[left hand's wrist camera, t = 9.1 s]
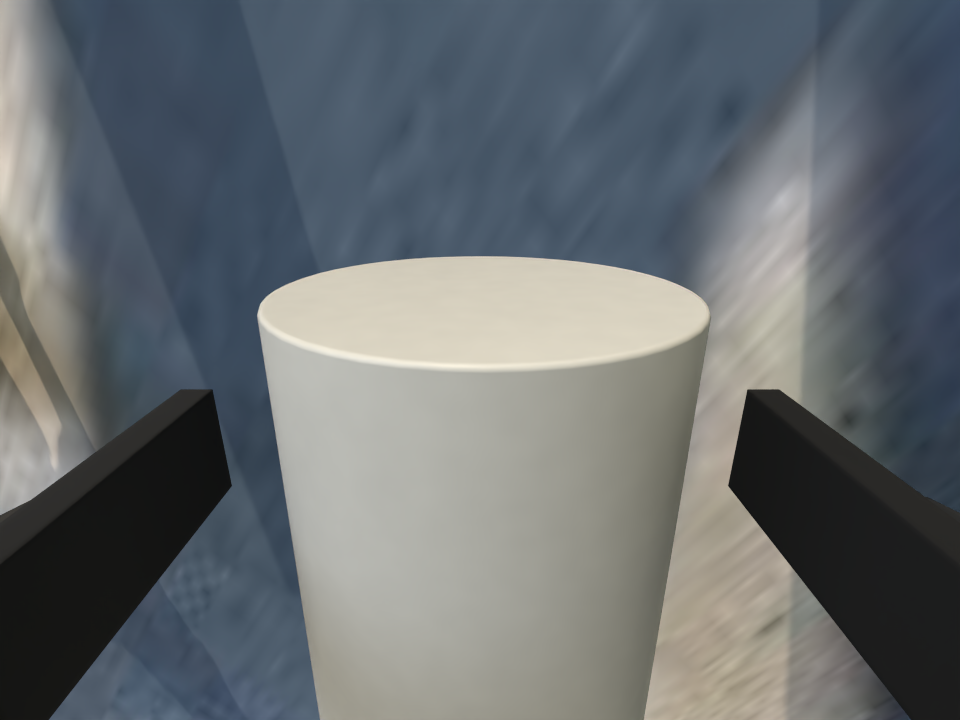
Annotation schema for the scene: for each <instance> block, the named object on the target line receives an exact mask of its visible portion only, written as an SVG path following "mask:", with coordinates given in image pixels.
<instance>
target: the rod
mask: <svg viewBox="0 0 960 720" xmlns="http://www.w3.org/2000/svg"><path fill="white" fill-rule="evenodd" d="M257 317H258V324H259V330H260V337H261V343H262V350H263V356H264V362H265V369H266V375H267V382H268V388H269V394H270V401H271V407H272V414H273V420H274V426H275V433H276V439H277V446H278V452H279V459H280V465H281V471H282V478H283V484H284V491H285V497H286V503H287V510H288V516H289V523H290V529H291V535H292V542H293V548H294V555H295V561H296V567H297V574H298V580H299V587H300V593H301V600H302V606H303V612H304V619H305V625H306V632H307V638H308V644H309V651H310V657H311V664H312V670H313V676H314V683H315V689H316V696H317V702H318V709H319V715H320V720H644V714H645V708H646V702H647V696H648V690H649V684H650V678H651V672H652V666H653V660H654V654H655V648H656V642H657V636H658V630H659V624H660V618H661V612H662V606H663V600H664V594H665V589H666V583H667V577H668V571H669V565H670V559H671V553H672V547H673V541H674V535H675V529H676V523H677V517H678V511H679V505H680V499H681V493H682V487H683V481H684V475H685V469H686V463H687V457H688V451H689V445H690V439H691V433H692V427H693V421H694V415H695V409H696V403H697V397H698V391H699V385H700V380H701V374H702V368H703V362H704V356H705V350H706V344H707V338H708V332H709V326H710V320H711V315H710V312H709V309H708V305H707V304H706V303H705V302H704V301H703V299H702V298H700V297H699V296H698V295H696V294H695V293H693V292H692V291H690V290H688V289H686V288H684V287H682V286H680V285H677V284H675V283H672V282H670V281H667V280H664V279H661V278H658V277H654V276H651V275H648V274H644V273H640V272H635V271H631V270H626V269H621V268H616V267H610V266H604V265H598V264H591V263H583V262H574V261H565V260H554V259H541V258H524V257H487V256H475V257H437V258H420V259H406V260H396V261H386V262H378V263H371V264H364V265H358V266H351V267H346V268H341V269H336V270H331V271H327V272H323V273H319V274H315V275H312V276H309V277H306V278H302V279H300V280H297V281H295V282H292V283H289V284H287V285H285V286H283V287H281V288H279V289H277V290H275V291H274V292H272V293H271V294H270V295H268V296H267V297H266V298H265V299H264V300H263V301H262V303H261V304H260V307H259V311H258V315H257Z"/></svg>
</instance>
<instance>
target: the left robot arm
mask: <svg viewBox="0 0 960 720" xmlns="http://www.w3.org/2000/svg"><path fill="white" fill-rule="evenodd" d="M231 486H232V485H231V480H230V475H229V470H228V465H227V460H226V455H225V450H224V445H223V440H222V435H221V430H220V425H219V420H218V415H217V410H216V405H215V400H214V395H213V390H180V391H178V392H177V393H176V394H174V395H173V396H172V397H170V398H169V399H167V400H166V401H165V402H163V403H162V404H161V405H159V406H158V407H157V408H155V409H154V410H153V411H151V412H150V413H149V414H147V415H146V416H144V417H143V418H142V419H140V420H139V421H138V422H136V423H135V424H134V425H132V426H131V427H130V428H128V429H127V430H125V431H124V432H123V433H121V434H120V435H119V436H117V437H116V438H115V439H113V440H112V441H111V442H109V443H108V444H106V445H105V446H104V447H102V448H101V449H100V450H98V451H97V452H96V453H94V454H93V455H92V456H90V457H89V458H87V459H86V460H85V461H83V462H82V463H81V464H79V465H78V466H77V467H75V468H74V469H73V470H71V471H70V472H68V473H67V474H66V475H64V476H63V477H62V478H60V479H59V480H58V481H56V482H55V483H54V484H52V485H51V486H50V487H48V488H47V489H45V490H44V491H43V492H41V493H40V494H39V495H37V496H36V497H35V498H33V499H32V500H30V501H28V502H26V503H24V504H22V505H20V506H18V507H16V508H14V509H12V510H10V511H8V512H6V513H4V514H2V515H0V720H49V719H50V717H51V716H52V715H53V713H54V712H55V711H56V710H57V708H58V707H59V706H60V705H61V703H62V702H63V701H64V699H65V698H66V697H67V696H68V694H69V693H70V692H71V690H72V689H73V688H74V687H75V685H76V684H77V683H78V682H79V680H80V679H81V678H82V676H83V675H84V674H85V673H86V671H87V670H88V669H89V668H90V666H91V665H92V664H93V662H94V661H95V660H96V659H97V657H98V656H99V655H100V653H101V652H102V651H103V650H104V648H105V647H106V646H107V645H108V643H109V642H110V641H111V639H112V638H113V637H114V636H115V634H116V633H117V632H118V630H119V629H120V628H121V627H122V625H123V624H124V623H125V622H126V620H127V619H128V618H129V616H130V615H131V614H132V613H133V611H134V610H135V609H136V608H137V606H138V605H139V604H140V602H141V601H142V600H143V599H144V597H145V596H146V595H147V593H148V592H149V591H150V590H151V588H152V587H153V586H154V585H155V583H156V582H157V581H158V579H159V578H160V577H161V576H162V574H163V573H164V572H165V571H166V569H167V568H168V567H169V565H170V564H171V563H172V562H173V560H174V559H175V558H176V556H177V555H178V554H179V553H180V551H181V550H182V549H183V548H184V546H185V545H186V544H187V542H188V541H189V540H190V539H191V537H192V536H193V535H194V533H195V532H196V531H197V530H198V528H199V527H200V526H201V525H202V523H203V522H204V521H205V519H206V518H207V517H208V516H209V514H210V513H211V512H212V511H213V509H214V508H215V507H216V505H217V504H218V503H219V502H220V500H221V499H222V498H223V496H224V495H225V494H226V493H227V491H228V490H229V489H230V488H231ZM728 486H729V488H730V489H731V490H732V491H733V493H734V494H735V495H736V496H737V498H738V499H739V500H740V502H741V503H742V504H743V505H744V507H745V508H746V509H747V511H748V512H749V513H750V514H751V516H752V517H753V518H754V519H755V521H756V522H757V523H758V525H759V526H760V527H761V528H762V530H763V531H764V532H765V533H766V535H767V536H768V537H769V539H770V540H771V541H772V542H773V544H774V545H775V546H776V548H777V549H778V550H779V551H780V553H781V554H782V555H783V556H784V558H785V559H786V560H787V562H788V563H789V564H790V565H791V567H792V568H793V569H794V570H795V572H796V573H797V574H798V576H799V577H800V578H801V579H802V581H803V582H804V583H805V585H806V586H807V587H808V588H809V590H810V591H811V592H812V593H813V595H814V596H815V597H816V599H817V600H818V601H819V602H820V604H821V605H822V606H823V608H824V609H825V610H826V611H827V613H828V614H829V615H830V616H831V618H832V619H833V620H834V622H835V623H836V624H837V625H838V627H839V628H840V629H841V630H842V632H843V633H844V634H845V636H846V637H847V638H848V639H849V641H850V642H851V643H852V645H853V646H854V647H855V648H856V650H857V651H858V652H859V653H860V655H861V656H862V657H863V659H864V660H865V661H866V662H867V664H868V665H869V666H870V668H871V669H872V670H873V671H874V673H875V674H876V675H877V676H878V678H879V679H880V680H881V682H882V683H883V684H884V685H885V687H886V688H887V689H888V690H889V692H890V693H891V694H892V696H893V697H894V698H895V699H896V701H897V702H898V703H899V705H900V706H901V707H902V708H903V710H904V711H905V712H906V713H907V715H908V716H909V717H910V719H911V720H960V513H959V512H957V511H955V510H952V509H950V508H948V507H946V506H944V505H942V504H940V503H938V502H936V501H934V500H932V499H930V498H928V497H924V496H923V495H921V494H920V493H919V492H917V491H916V490H915V489H913V488H912V487H911V486H909V485H908V484H906V483H905V482H904V481H902V480H901V479H900V478H898V477H897V476H896V475H894V474H893V473H892V472H890V471H889V470H887V469H886V468H885V467H883V466H882V465H881V464H879V463H878V462H877V461H875V460H874V459H873V458H871V457H870V456H868V455H867V454H866V453H864V452H863V451H862V450H860V449H859V448H858V447H856V446H855V445H854V444H852V443H851V442H849V441H848V440H847V439H845V438H844V437H843V436H841V435H840V434H839V433H837V432H836V431H835V430H833V429H832V428H830V427H829V426H828V425H826V424H825V423H824V422H822V421H821V420H820V419H818V418H817V417H816V416H814V415H813V414H812V413H810V412H809V411H807V410H806V409H805V408H803V407H802V406H801V405H799V404H798V403H797V402H795V401H794V400H793V399H791V398H790V397H788V396H787V395H786V394H784V393H783V392H782V391H780V390H747V395H746V400H745V405H744V410H743V415H742V420H741V425H740V430H739V435H738V440H737V445H736V450H735V455H734V460H733V465H732V470H731V475H730V480H729V485H728Z"/></svg>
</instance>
